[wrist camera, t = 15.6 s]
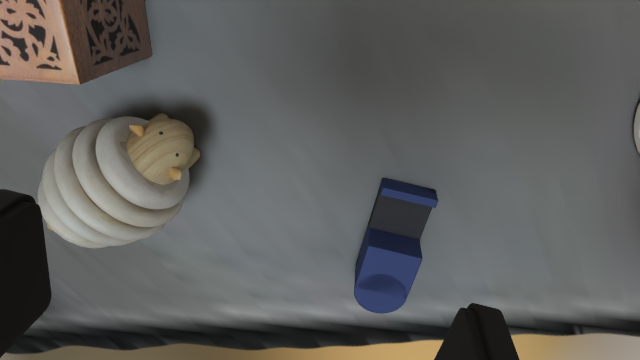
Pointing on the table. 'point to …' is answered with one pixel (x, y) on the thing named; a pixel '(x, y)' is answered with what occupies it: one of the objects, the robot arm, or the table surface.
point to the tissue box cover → (70, 38)
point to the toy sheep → (117, 180)
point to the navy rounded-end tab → (392, 246)
